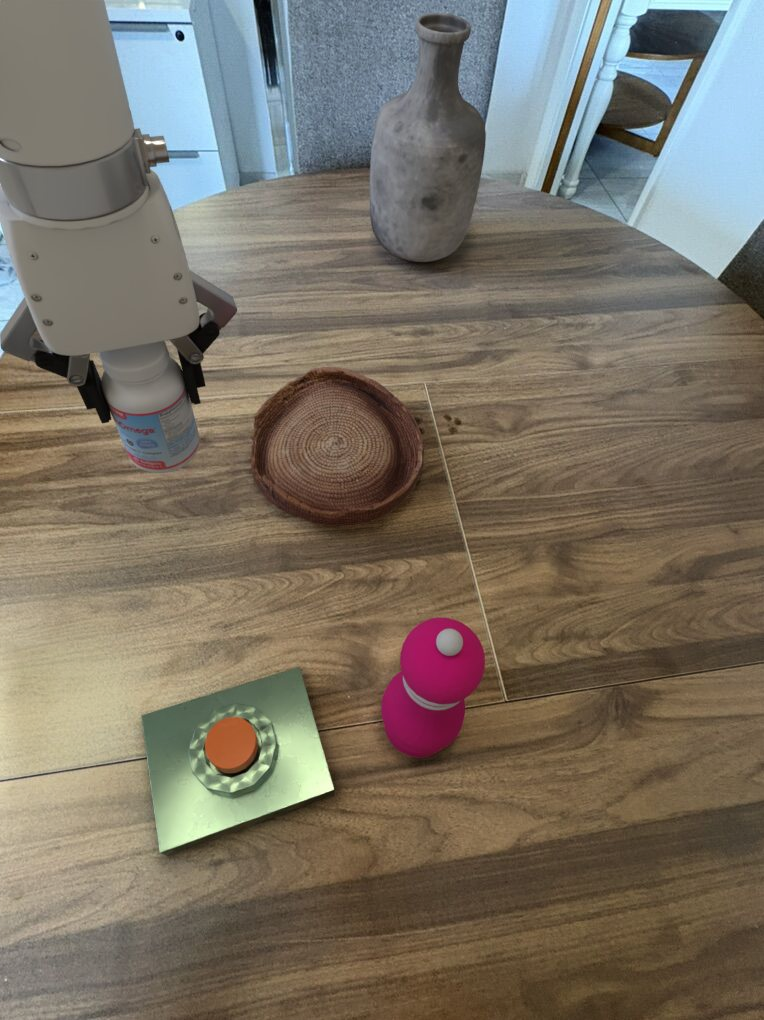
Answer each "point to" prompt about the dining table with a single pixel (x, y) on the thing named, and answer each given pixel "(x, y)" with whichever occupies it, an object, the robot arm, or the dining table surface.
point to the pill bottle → (150, 406)
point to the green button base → (246, 794)
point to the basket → (335, 448)
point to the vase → (427, 151)
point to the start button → (231, 745)
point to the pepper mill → (432, 686)
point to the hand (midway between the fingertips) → (149, 399)
